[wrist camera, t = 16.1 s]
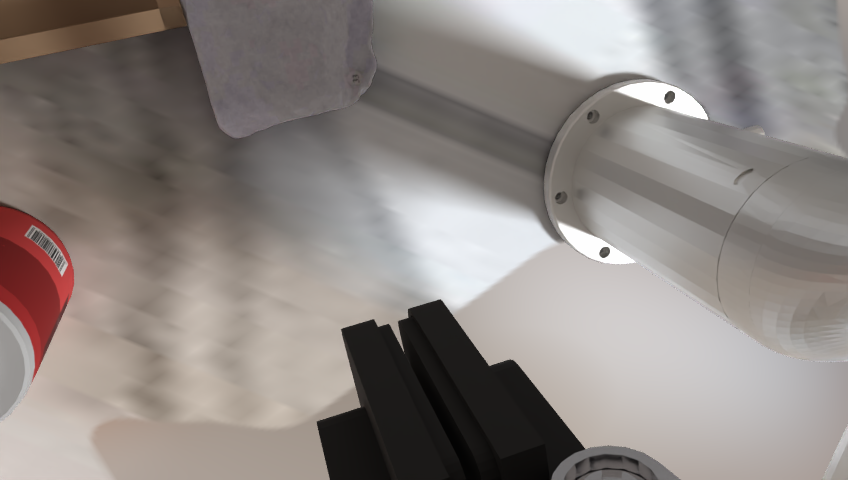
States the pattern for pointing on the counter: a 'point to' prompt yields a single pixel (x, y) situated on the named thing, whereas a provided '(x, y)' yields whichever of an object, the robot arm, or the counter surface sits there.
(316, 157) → the counter surface
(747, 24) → the counter surface
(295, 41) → the stone block
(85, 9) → the tray
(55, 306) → the canned food
